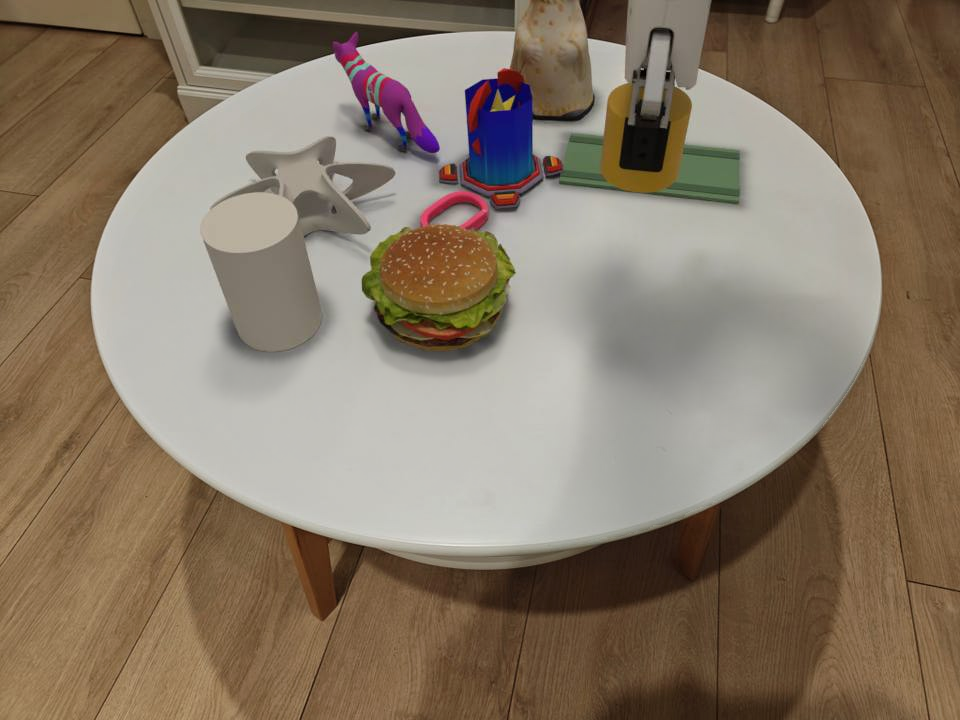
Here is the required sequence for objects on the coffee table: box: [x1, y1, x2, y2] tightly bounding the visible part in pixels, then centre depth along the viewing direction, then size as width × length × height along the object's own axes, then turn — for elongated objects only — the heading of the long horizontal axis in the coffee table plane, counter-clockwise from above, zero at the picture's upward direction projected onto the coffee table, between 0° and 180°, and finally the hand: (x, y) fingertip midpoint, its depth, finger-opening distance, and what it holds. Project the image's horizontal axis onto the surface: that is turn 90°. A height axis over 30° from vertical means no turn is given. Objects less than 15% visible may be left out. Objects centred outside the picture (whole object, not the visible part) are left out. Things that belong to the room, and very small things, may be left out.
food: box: [361, 223, 517, 352], centre depth 72 cm, size 14×14×8 cm
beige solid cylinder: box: [199, 192, 323, 353], centre depth 69 cm, size 8×8×12 cm
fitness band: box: [419, 190, 490, 231], centre depth 83 cm, size 8×6×2 cm
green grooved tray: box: [558, 132, 741, 204], centre depth 89 cm, size 20×10×1 cm, turn 77°
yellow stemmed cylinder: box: [600, 82, 693, 194], centre depth 58 cm, size 6×6×8 cm
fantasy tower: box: [438, 67, 564, 210], centre depth 84 cm, size 12×12×12 cm
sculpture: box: [209, 135, 396, 237], centre depth 82 cm, size 18×20×6 cm
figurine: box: [509, 0, 596, 122], centre depth 92 cm, size 12×10×20 cm
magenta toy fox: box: [332, 31, 441, 154], centre depth 91 cm, size 4×18×10 cm, turn 45°
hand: (643, 140), depth 59 cm, fingers closed on yellow stemmed cylinder, 6 cm apart
